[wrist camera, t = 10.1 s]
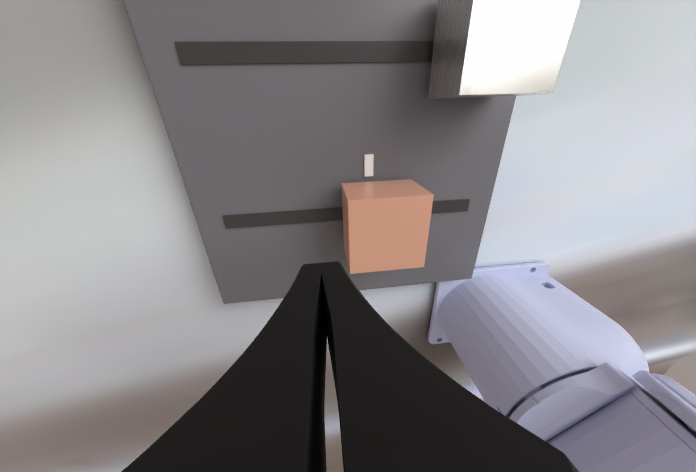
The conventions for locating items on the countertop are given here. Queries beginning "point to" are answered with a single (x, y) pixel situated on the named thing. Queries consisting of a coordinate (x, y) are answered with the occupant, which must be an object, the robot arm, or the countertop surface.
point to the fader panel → (314, 131)
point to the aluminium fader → (499, 47)
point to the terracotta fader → (385, 224)
